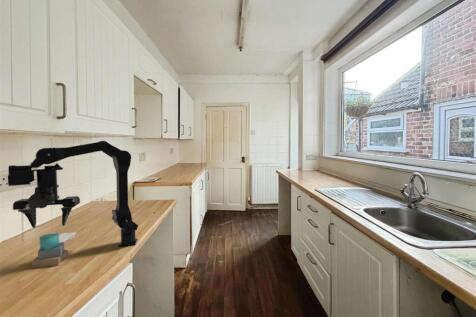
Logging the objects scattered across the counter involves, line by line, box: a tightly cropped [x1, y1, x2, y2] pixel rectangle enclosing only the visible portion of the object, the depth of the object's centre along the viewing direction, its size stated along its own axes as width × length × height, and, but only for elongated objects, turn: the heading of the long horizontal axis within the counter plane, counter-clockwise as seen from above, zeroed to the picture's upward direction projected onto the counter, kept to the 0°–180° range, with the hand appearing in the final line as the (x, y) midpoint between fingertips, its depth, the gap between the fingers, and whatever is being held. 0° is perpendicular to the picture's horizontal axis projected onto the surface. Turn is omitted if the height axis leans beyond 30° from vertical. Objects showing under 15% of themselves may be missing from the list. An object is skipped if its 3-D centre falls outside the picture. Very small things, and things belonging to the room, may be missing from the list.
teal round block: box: [39, 232, 60, 250], centre depth 91 cm, size 6×6×4 cm
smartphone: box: [59, 231, 78, 244], centre depth 114 cm, size 7×1×15 cm
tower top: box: [37, 242, 65, 260], centre depth 92 cm, size 6×6×3 cm
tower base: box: [31, 249, 69, 269], centre depth 92 cm, size 8×8×3 cm
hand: (49, 226), depth 91 cm, fingers open, 9 cm apart
